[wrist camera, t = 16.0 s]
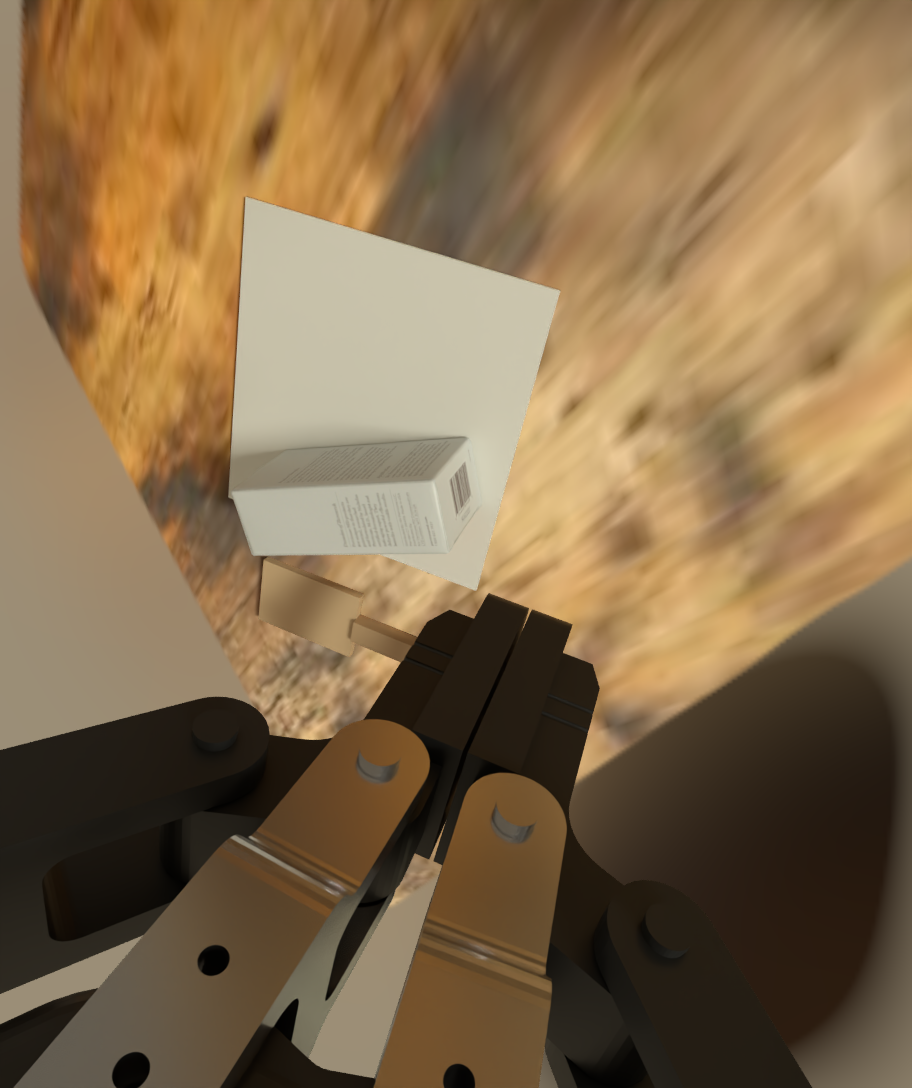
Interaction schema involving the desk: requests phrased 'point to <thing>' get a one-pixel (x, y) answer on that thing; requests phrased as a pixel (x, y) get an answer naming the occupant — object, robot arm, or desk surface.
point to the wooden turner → (324, 612)
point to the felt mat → (382, 356)
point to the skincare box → (361, 499)
